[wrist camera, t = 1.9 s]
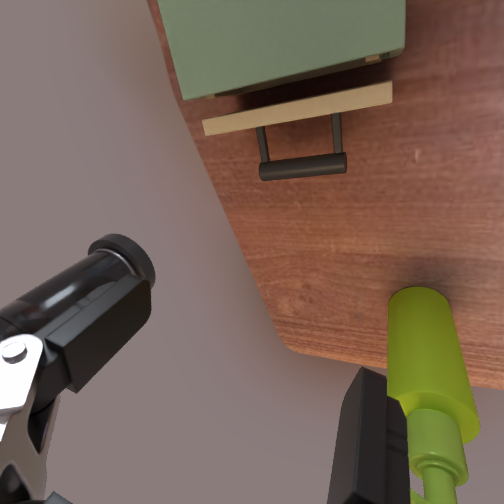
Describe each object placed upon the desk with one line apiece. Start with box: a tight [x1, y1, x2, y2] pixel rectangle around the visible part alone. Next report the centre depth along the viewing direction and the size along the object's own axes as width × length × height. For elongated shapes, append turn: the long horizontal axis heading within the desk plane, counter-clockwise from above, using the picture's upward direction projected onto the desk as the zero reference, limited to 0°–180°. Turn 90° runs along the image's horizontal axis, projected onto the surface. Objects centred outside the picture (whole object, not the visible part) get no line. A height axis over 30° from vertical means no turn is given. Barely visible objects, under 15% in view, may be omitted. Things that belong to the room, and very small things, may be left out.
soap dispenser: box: [387, 287, 480, 504], centre depth 25 cm, size 6×7×20 cm
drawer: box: [202, 54, 392, 181], centre depth 22 cm, size 20×13×7 cm, turn 12°
